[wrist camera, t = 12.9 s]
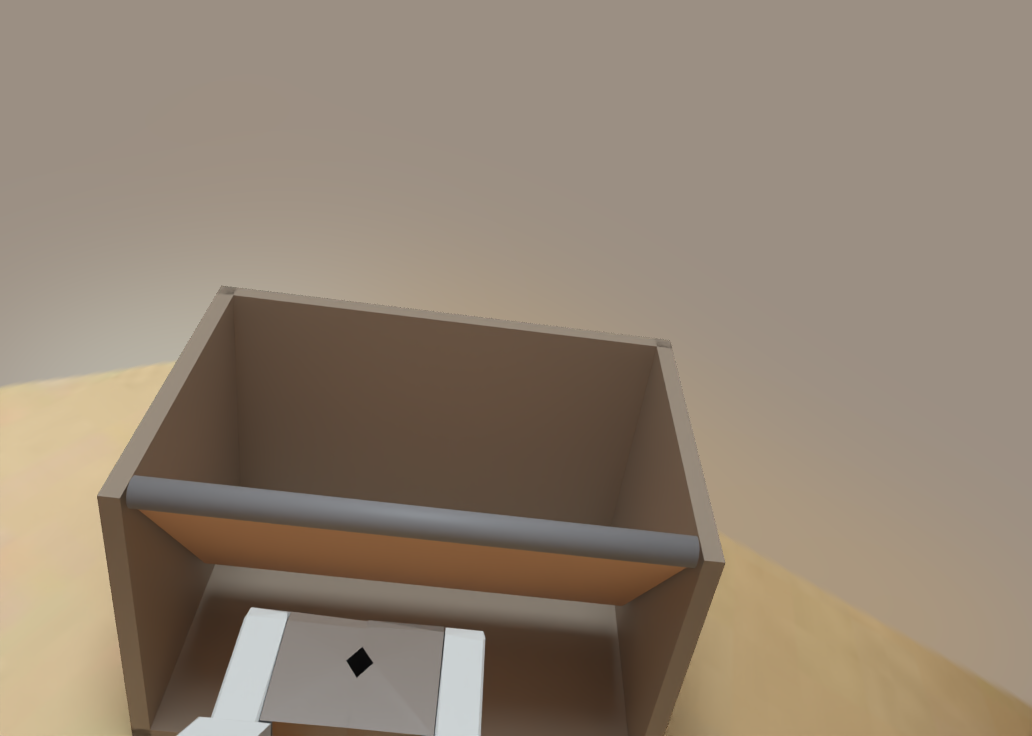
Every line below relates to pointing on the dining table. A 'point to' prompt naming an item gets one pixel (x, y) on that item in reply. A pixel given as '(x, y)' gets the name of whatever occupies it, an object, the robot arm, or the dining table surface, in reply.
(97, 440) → the dining table surface
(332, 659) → the robot arm
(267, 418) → the open carton
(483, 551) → the flap
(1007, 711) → the dining table surface
